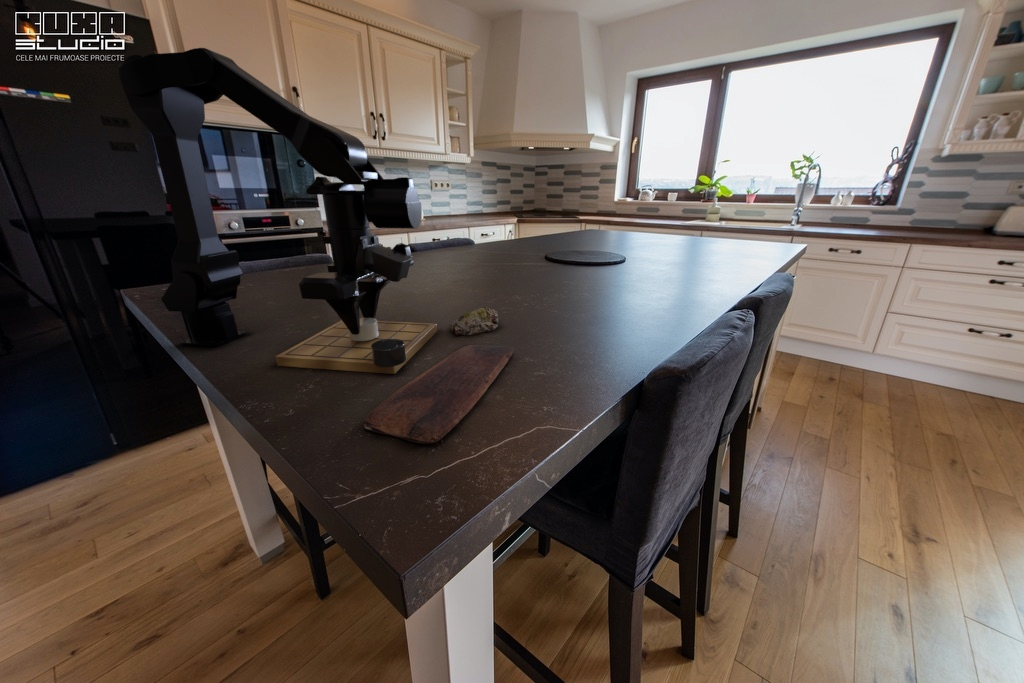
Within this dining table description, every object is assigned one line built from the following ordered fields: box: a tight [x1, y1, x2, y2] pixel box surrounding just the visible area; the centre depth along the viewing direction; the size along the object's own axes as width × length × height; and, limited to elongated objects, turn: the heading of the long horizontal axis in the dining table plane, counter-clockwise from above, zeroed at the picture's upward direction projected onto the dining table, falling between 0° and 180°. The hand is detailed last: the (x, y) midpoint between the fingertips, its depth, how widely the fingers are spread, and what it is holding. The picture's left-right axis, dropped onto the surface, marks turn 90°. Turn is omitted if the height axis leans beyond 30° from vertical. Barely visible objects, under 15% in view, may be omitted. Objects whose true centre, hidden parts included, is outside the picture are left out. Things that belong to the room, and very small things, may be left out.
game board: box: [275, 319, 438, 375], centre depth 64 cm, size 18×18×2 cm
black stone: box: [371, 339, 406, 367], centre depth 55 cm, size 4×4×2 cm
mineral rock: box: [450, 307, 500, 336], centre depth 73 cm, size 11×4×8 cm
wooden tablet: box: [362, 344, 514, 445], centre depth 51 cm, size 26×2×10 cm
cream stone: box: [349, 317, 379, 341], centre depth 63 cm, size 4×4×2 cm
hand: (363, 329), depth 63 cm, fingers closed on cream stone, 4 cm apart
